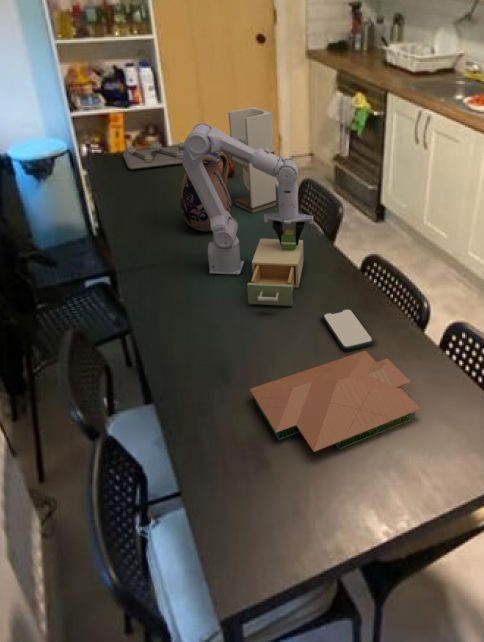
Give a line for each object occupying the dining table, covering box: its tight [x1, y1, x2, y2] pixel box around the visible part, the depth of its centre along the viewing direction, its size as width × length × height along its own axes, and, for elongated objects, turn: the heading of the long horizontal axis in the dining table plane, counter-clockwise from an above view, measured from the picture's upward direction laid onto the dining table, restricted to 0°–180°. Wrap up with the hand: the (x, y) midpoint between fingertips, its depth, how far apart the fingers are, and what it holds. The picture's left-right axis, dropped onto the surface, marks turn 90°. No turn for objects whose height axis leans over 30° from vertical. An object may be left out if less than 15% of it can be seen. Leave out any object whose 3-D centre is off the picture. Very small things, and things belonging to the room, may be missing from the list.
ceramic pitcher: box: [179, 151, 233, 232], centre depth 196 cm, size 18×21×25 cm
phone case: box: [322, 308, 374, 352], centre depth 149 cm, size 9×2×16 cm
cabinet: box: [251, 238, 304, 289], centre depth 172 cm, size 16×14×8 cm
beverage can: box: [218, 160, 236, 177], centre depth 240 cm, size 7×12×7 cm, turn 116°
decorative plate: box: [122, 141, 184, 171], centre depth 256 cm, size 30×22×7 cm
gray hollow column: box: [228, 106, 277, 214], centre depth 209 cm, size 11×11×35 cm
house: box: [249, 350, 421, 453], centre depth 123 cm, size 23×33×8 cm
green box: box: [281, 228, 296, 249], centre depth 171 cm, size 7×4×4 cm, turn 177°
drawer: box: [246, 265, 295, 306], centre depth 161 cm, size 18×12×6 cm, turn 177°
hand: (289, 243), depth 172 cm, fingers closed on green box, 4 cm apart
